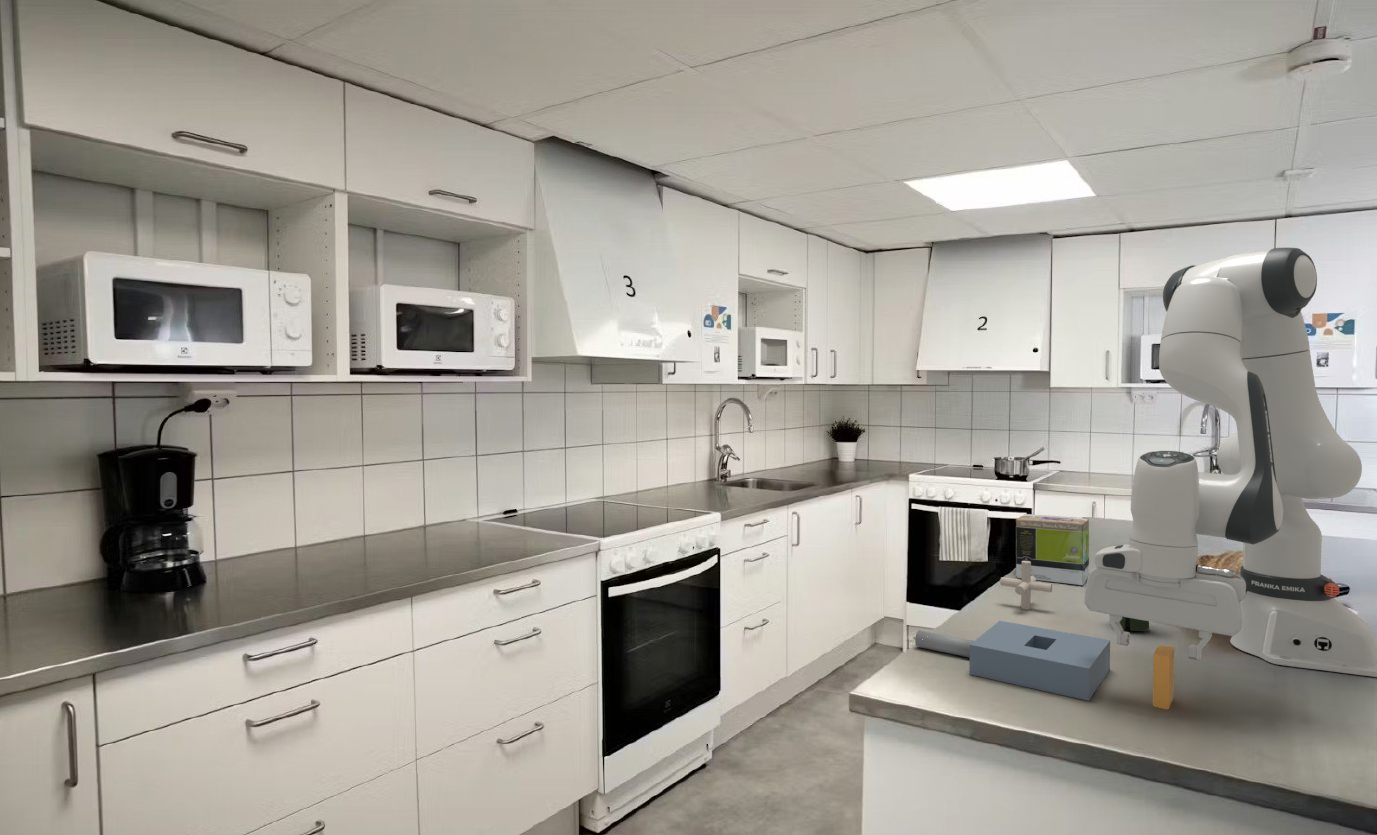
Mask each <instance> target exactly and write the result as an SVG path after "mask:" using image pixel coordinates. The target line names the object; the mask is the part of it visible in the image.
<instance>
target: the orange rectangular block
mask: <svg viewBox="0 0 1377 835" xmlns="http://www.w3.org/2000/svg"><path fill="white" fill-rule="evenodd" d="M1174 661H1175V647H1174V646H1168V645H1165V644H1158V646H1157V648H1156V649H1155V651H1154V653H1153V674H1152V675H1153V676H1152V677H1153V678H1152V679H1153V682H1152V684H1153V685H1152V707H1153V706H1154V708H1157V707H1158V709H1162V708H1163V710H1167V709H1170V707H1171V704H1172V703H1171V702H1173V700H1174V670H1175V667H1174V665H1175V662H1174Z"/></svg>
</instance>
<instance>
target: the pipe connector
mask: <svg viewBox="0 0 1377 835" xmlns="http://www.w3.org/2000/svg"><path fill="white" fill-rule="evenodd" d="M999 580H1000V582H999V583H1000V586H1002V587H1004V586H1005V587H1010V588H1015V589H1014V592H1015V593H1016V594H1017V595H1019V596H1021V597H1020V609H1022V610H1025V611H1026V610H1027V611H1029V610H1031V599H1032V598H1031V591H1038V592H1044V593H1052V591H1053V584H1052V583H1046V582H1039V581H1038V580H1036V578H1035V577H1033V576H1031V562H1030V561H1022V569H1021V578H1018V579H1017V578H1010V577H1000V579H999Z"/></svg>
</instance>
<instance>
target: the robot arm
mask: <svg viewBox="0 0 1377 835" xmlns="http://www.w3.org/2000/svg"><path fill="white" fill-rule="evenodd" d="M1317 283H1318V275H1317V269H1316V266H1315V263H1314V260H1313V259H1312V258H1311V256H1310V255H1309V254H1308V253H1306V252H1304V251H1303V250H1302V249H1300V248H1297V247H1274V248H1271V249H1269V250H1260V251H1251V252H1244V253H1243V252H1242V253H1237V254H1232V255H1229V256H1227V257H1223V258H1220V259H1219V258H1218V259H1215V260H1211V261H1208V262H1204V263H1201V264H1199V265H1198V264H1197V265H1189V266H1187V267H1184V268H1182V269H1179V270H1176V271H1175V272H1174V273H1172V274H1171V275H1170V277H1169V278H1168V280H1167V281H1166V283H1165V284H1164V285H1163V286H1164V288H1163V291H1162V301H1163V306H1164V309H1165V311H1166V314H1165V318H1164V323H1163V327H1162V332H1161V337H1160V342H1159V343H1160V346H1159V353H1158V354H1159V355H1158V359H1159V360H1158V362H1159V363H1158V366H1159V367H1158V368H1159V372H1160V375H1161V377H1162V378H1163V380H1164V381H1165V382H1166V383H1167V384H1168V385H1169V386H1170V387H1171V388H1172V389H1173V390H1175V391H1176V392H1178V393H1179V394H1182V395H1184V396H1185V397H1187V398H1190V399H1193V400H1194V401H1198V402H1200V403H1203V404H1206V405H1209V406H1211V407H1215V408H1216V409H1219V410H1221V411H1224V412H1225V413H1227V414H1228V415H1230V416H1231V417H1232V418H1233V419H1234V421H1235V423H1236V431H1237V432H1236V433H1233V434H1231V435H1229V436H1228V437H1226V438H1225V439H1224V440H1223V441H1222V442H1221V443H1220V446H1219V448H1218V451H1217V457H1216V460H1217V465H1218V468H1219V469H1220V472H1221V473H1212V472H1203V471H1202V472H1200V471H1199V468H1198V462H1197V459H1196V457H1194V456H1193V455H1192V454H1189V453H1186V452H1183V451H1176V450H1157V451H1148V452H1146V453H1144V454H1142V455H1140V456H1139V457H1138V459H1137V461H1136V466H1135V470H1134V474H1133V479H1132V487H1131V495H1130V496H1131V497H1130V513H1131V515H1132V527H1131V530H1130V533H1129V535H1128V536H1129V537H1128V538H1129V539H1128V540H1129V541H1128V543H1127V544H1119V545H1114V546H1113V545H1112V546H1107V547H1104V548H1101V549H1100V550H1098V551H1097V552H1096V553H1095V555H1094V564H1095V565H1096V566H1095V567H1094V568H1093V569H1091V571H1089V576H1088V579H1087V580H1086V584H1085V585H1086V586H1085V591H1084V592H1085V593H1084V605H1085V606H1086V608H1087V609H1088V610H1089V611H1090V612H1096V613H1102V614H1107V615H1109V617H1108V618H1109V623H1110V625H1111V626H1112V628H1113V631H1114V633H1116V644H1117V645H1119V646H1124V647H1126V646H1127V647H1128V646H1129V645H1130V634H1131V633H1130V632H1128V631H1125V629H1123V628H1122V626H1121V624H1120V623H1119V622H1120V621H1121V620H1122V617H1128V618H1133V619H1139V620H1144V621H1149V623H1150V622H1152V623H1157V624H1163V625H1168V626H1174V627H1179V628H1183V629H1184V628H1185V629H1190V630H1195V631H1198V638H1200V640H1199V641H1198V643H1197V644H1192V643H1191V644H1190V645H1189V647H1188V652H1189V653H1188V659H1191V660H1196V661H1201V660H1202V655H1203V648H1205V646H1206V645H1207V644H1208V643H1209V641H1211V638H1212V636H1213V635H1212V634H1218V635H1223V636H1228V637H1231V638H1230V640H1229V641H1230V644H1231V645H1232V646H1233V647H1235V648H1236V649H1237V650H1241V651H1242V652H1245V653H1248V654H1251V655H1253V656H1256V657H1259V658H1261V659H1263V660H1264V661H1266V662H1269V663H1271V664H1273V665H1281V666H1287V667H1294V668H1303V669H1311V670H1319V671H1327V672H1333V673H1334V672H1335V673H1342V674H1348V675H1349V674H1350V675H1358V676H1367V677H1372V678H1373V677H1374V678H1377V639H1376V635H1375V632H1374V631H1373V629H1372V627H1371V626H1370V625H1369V623H1368V622H1367V621H1365V620H1364V619H1363V618H1362V617H1360V616H1359V615H1357V614H1356V613H1355V612H1353V611H1352V610H1350V608H1348V607H1347V606H1345V605H1344V604H1342V603H1341V602H1340V601H1338V600H1337V599H1336V598H1335V597H1337V595H1338V596H1339V595H1340V588H1339V585H1337V584H1336V582H1335V581H1334V580H1333V579H1332V578H1331V577H1329V578H1328V577H1327V576H1326V575H1323V574H1321V572H1322V541H1323V539H1322V538H1323V535H1322V531H1321V529H1320V526H1319V525H1318V524H1317V523H1316V522H1315V521H1314V520H1313V519H1312V518H1311V516H1310V515H1309V513H1308V511H1307V508H1306V506H1305V503H1304V501H1303V499H1306V500H1323V499H1325V500H1326V499H1334V498H1341V497H1343V496H1345V495H1348V494H1349V493H1350V492H1352V491H1353V489H1355V488H1356V486H1357V485H1358V483H1359V481H1360V480H1361V477H1362V473H1363V465H1362V460H1361V458H1360V455H1359V454H1358V452H1357V451H1356V449H1355V448H1354V447H1352V445H1350V444H1349V443H1348V442H1346V441H1345V440H1344V439H1343V438H1342V437H1341V435H1339V434H1338V432H1337V431H1336V429H1335V428H1334V427H1333V425H1332V424H1331V422H1330V419H1329V418H1328V416H1327V415H1326V412H1325V410H1324V408H1323V406H1322V403H1321V401H1320V399H1319V396H1318V392H1317V388H1316V382H1315V376H1314V369H1313V363H1312V356H1311V350H1310V349H1311V346H1310V341H1309V336H1308V330H1307V327H1306V324H1305V319H1304V317H1303V313H1302V310H1303V309H1304V308H1305V307H1306V306H1308V305H1309V303H1310V302H1311V300H1312V298H1313V297H1314V296H1315V293H1316V290H1317V287H1318V286H1317V285H1318V284H1317ZM1197 535H1202V536H1208V537H1217V538H1223V539H1224V538H1225V539H1226V540H1230V541H1234V542H1239V543H1243V548H1242V549H1243V554H1242V556H1243V560H1242V561H1243V562H1242V565H1241V567H1240V568H1239V571H1240V572H1239V573H1237V572H1235V570H1232V569H1229V568H1216V567H1212V566H1208V565H1207V566H1206V565H1201V564H1200V565H1199V564H1198V554H1199V552H1198V550H1199V540H1198V536H1197Z"/></svg>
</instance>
